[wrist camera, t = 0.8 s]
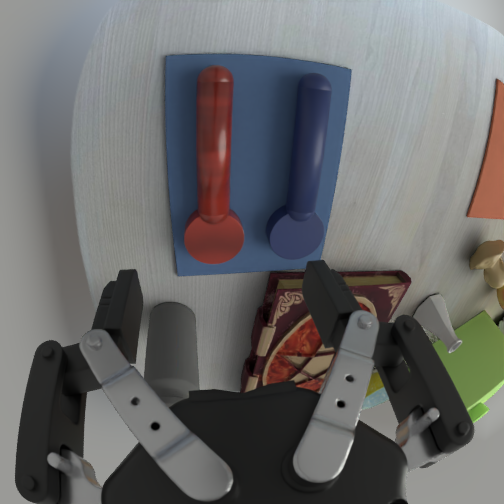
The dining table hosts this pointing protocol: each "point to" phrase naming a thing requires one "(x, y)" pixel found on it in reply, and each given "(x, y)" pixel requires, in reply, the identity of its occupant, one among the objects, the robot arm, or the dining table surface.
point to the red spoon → (213, 172)
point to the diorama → (501, 326)
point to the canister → (475, 363)
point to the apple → (501, 296)
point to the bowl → (375, 391)
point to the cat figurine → (490, 262)
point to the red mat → (492, 167)
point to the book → (308, 327)
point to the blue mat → (249, 150)
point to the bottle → (172, 352)
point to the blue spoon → (303, 174)
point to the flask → (437, 321)
